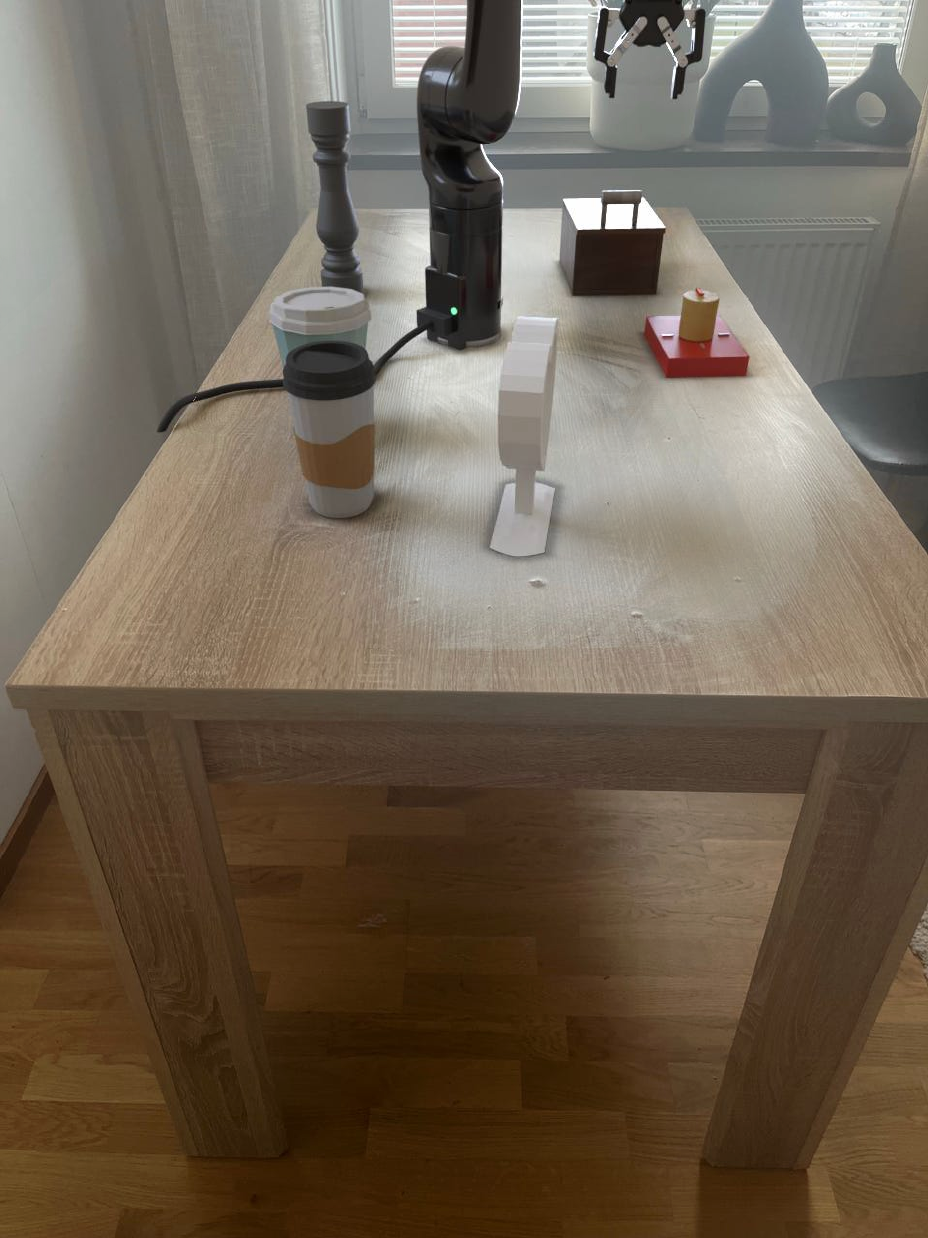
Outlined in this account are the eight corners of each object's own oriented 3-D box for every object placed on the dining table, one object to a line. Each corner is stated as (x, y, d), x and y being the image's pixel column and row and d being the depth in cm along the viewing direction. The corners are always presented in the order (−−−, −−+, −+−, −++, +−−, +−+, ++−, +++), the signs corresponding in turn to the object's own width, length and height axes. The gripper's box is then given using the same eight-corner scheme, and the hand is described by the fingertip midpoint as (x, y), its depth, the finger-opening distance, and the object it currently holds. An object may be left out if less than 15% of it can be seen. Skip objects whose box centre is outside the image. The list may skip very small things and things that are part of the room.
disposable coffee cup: (274, 415, 106) (255, 283, 97) (364, 400, 109) (355, 271, 100) (295, 457, 98) (277, 318, 89) (391, 439, 101) (384, 303, 92)
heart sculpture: (542, 565, 82) (553, 373, 71) (486, 559, 83) (489, 369, 72) (556, 478, 94) (568, 303, 83) (508, 474, 95) (513, 300, 84)
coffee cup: (342, 472, 95) (328, 331, 86) (401, 499, 91) (393, 353, 82) (281, 505, 90) (259, 359, 81) (341, 535, 86) (325, 384, 77)
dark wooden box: (656, 294, 137) (664, 232, 131) (572, 295, 137) (576, 233, 131) (636, 261, 149) (642, 203, 144) (559, 262, 149) (562, 204, 143)
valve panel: (746, 375, 114) (750, 355, 112) (665, 377, 114) (668, 356, 112) (717, 333, 125) (720, 313, 123) (643, 334, 125) (646, 315, 123)
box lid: (665, 233, 131) (670, 194, 128) (577, 235, 130) (579, 195, 127) (642, 202, 144) (646, 166, 140) (562, 204, 143) (564, 167, 140)
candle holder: (361, 300, 135) (347, 108, 120) (319, 300, 135) (300, 108, 120) (366, 286, 140) (353, 100, 125) (325, 286, 140) (307, 100, 125)
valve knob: (717, 341, 116) (724, 299, 113) (682, 341, 116) (688, 299, 113) (708, 328, 119) (715, 287, 116) (674, 328, 119) (680, 287, 116)
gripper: (603, -47, 114) (591, 101, 124) (719, -47, 113) (698, 103, 123) (599, -50, 120) (589, 92, 130) (710, -49, 119) (691, 93, 129)
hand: (642, 97), depth 127 cm, fingers open, 8 cm apart
